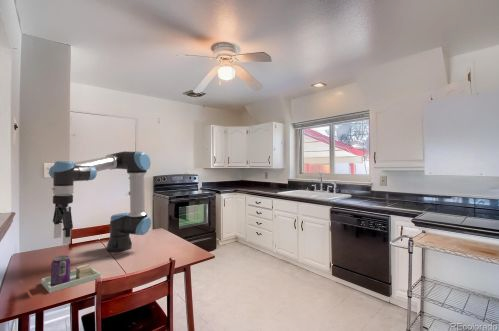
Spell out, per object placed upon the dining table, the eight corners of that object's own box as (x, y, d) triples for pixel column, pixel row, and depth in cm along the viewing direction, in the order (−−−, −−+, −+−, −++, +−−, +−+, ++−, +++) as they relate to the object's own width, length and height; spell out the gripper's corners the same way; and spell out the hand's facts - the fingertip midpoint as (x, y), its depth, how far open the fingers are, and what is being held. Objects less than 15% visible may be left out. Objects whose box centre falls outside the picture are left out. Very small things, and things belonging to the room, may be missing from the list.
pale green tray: (41, 285, 117) (41, 278, 117) (89, 272, 133) (90, 266, 133) (49, 295, 109) (49, 287, 109) (100, 279, 125) (100, 273, 125)
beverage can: (73, 280, 121) (73, 255, 121) (63, 287, 114) (64, 260, 114) (57, 280, 121) (58, 255, 121) (46, 287, 114) (47, 260, 114)
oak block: (75, 277, 124) (76, 267, 124) (87, 274, 128) (87, 264, 128) (79, 280, 121) (79, 270, 121) (91, 277, 125) (91, 267, 125)
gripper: (45, 192, 123) (44, 236, 123) (61, 198, 107) (60, 248, 107) (64, 191, 128) (63, 233, 128) (82, 196, 113) (80, 244, 113)
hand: (61, 240), depth 118 cm, fingers open, 13 cm apart
